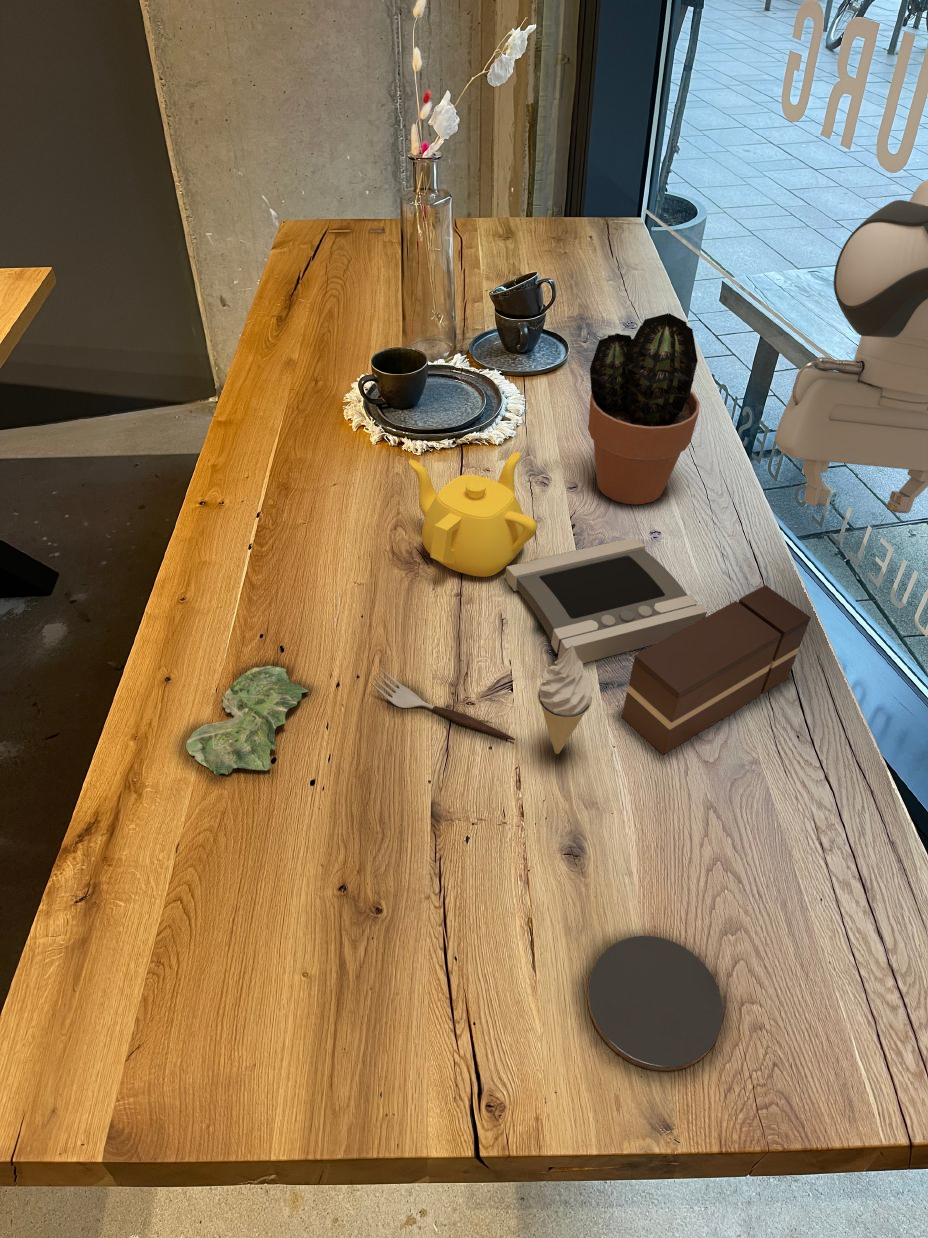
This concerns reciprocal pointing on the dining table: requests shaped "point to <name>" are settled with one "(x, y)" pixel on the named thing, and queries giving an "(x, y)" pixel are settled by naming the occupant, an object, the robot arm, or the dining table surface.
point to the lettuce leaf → (247, 722)
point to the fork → (433, 707)
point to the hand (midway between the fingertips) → (856, 507)
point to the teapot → (473, 521)
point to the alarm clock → (604, 599)
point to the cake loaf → (699, 676)
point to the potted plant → (642, 407)
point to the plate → (655, 1003)
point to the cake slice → (778, 630)
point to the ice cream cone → (565, 697)
